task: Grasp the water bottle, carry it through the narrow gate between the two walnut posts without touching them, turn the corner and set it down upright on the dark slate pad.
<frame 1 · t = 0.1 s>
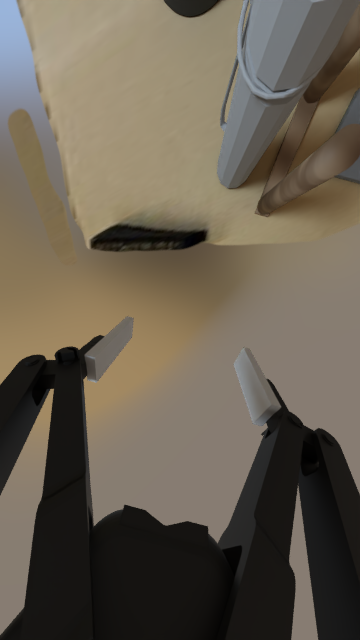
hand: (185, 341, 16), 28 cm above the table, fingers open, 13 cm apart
water bottle: (230, 164, 29), on the table
pad: (359, 142, 25), on the table
gate: (285, 156, 27), on the table
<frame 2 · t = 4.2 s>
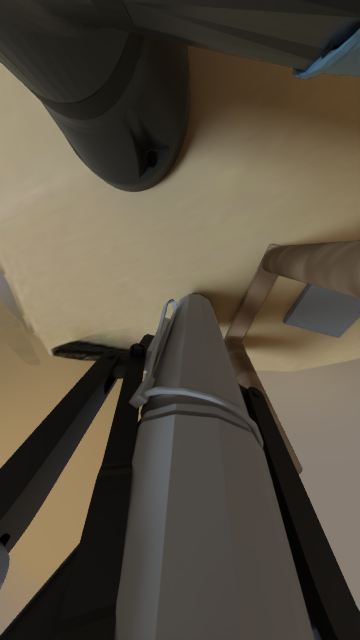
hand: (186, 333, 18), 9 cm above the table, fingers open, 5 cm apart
water bottle: (190, 307, 26), on the table, touching gripper, hand
pad: (328, 303, 23), on the table
gate: (248, 306, 25), on the table
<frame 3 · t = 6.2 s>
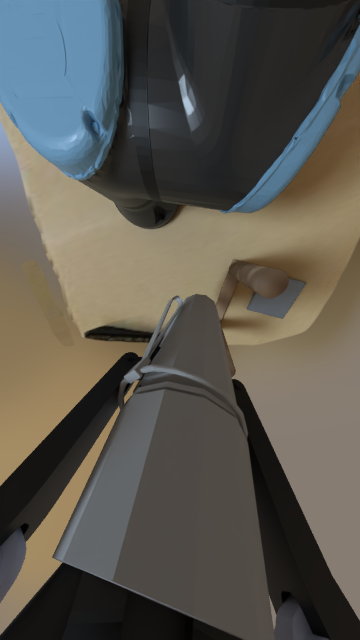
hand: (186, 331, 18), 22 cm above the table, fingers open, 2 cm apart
water bottle: (195, 307, 26), point 12 cm above the table, touching hand
pad: (273, 296, 36), on the table
gate: (223, 298, 38), on the table
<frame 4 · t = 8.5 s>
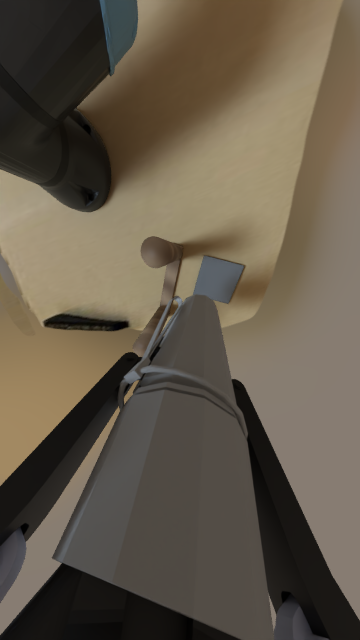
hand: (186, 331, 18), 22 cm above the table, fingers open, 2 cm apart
water bottle: (195, 307, 26), point 12 cm above the table, touching hand
pad: (216, 280, 36), on the table
gate: (169, 284, 38), on the table
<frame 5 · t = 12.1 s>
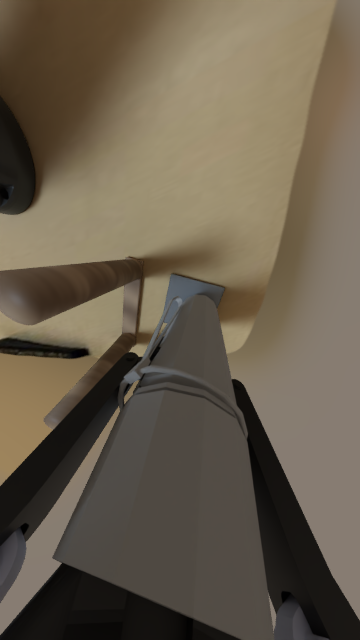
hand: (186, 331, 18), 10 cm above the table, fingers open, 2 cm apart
water bottle: (195, 307, 26), point 1 cm above the table, touching hand
pad: (190, 305, 27), on the table
gate: (131, 307, 29), on the table
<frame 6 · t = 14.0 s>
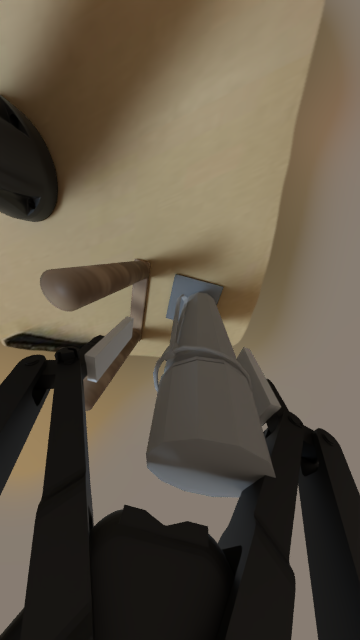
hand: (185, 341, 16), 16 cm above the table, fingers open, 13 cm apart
water bottle: (196, 304, 29), point 1 cm above the table, touching pad
pad: (192, 302, 30), on the table
gate: (138, 304, 32), on the table
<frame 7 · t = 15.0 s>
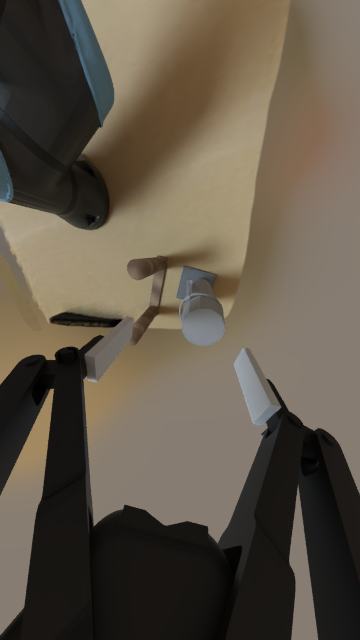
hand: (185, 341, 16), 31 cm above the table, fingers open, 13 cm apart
water bottle: (198, 287, 43), point 1 cm above the table, touching pad
pad: (195, 286, 43), on the table
gate: (157, 288, 45), on the table
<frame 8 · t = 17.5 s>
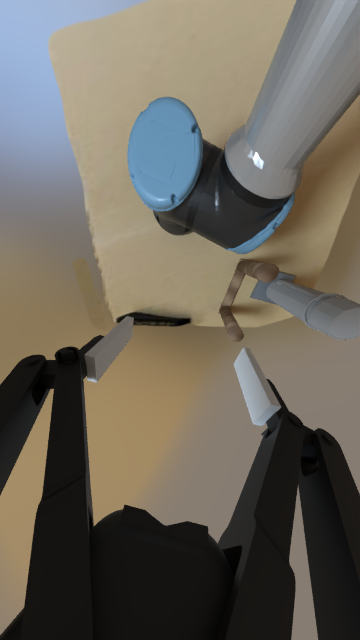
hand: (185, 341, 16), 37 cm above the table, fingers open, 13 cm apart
water bottle: (274, 287, 46), point 1 cm above the table, touching pad
pad: (271, 287, 46), on the table
gate: (232, 289, 48), on the table
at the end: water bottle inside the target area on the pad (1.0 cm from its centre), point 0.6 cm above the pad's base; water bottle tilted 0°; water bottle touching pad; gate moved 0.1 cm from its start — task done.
